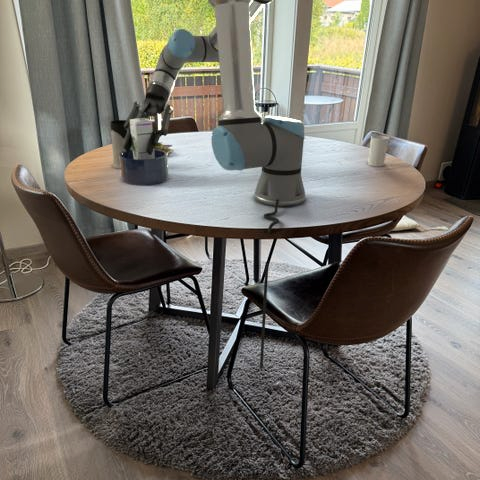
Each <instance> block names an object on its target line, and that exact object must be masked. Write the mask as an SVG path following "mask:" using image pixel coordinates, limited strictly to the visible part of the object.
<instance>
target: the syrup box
mask: <svg viewBox="0 0 480 480" xmlns="http://www.w3.org/2000/svg"><path fill="white" fill-rule="evenodd" d="M130 129H131V139H132V149H133V159H155V155H154V149H153V152H152V155H149V154H148V152H147V151H146V148H147V145H148V142H149V140H150V137H151V134H152V132H154V130H153V121H152V120H151V119H148V118H147V119H146V118H137V119H130Z"/></svg>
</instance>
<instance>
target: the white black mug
mask: <svg viewBox="0 0 480 480" xmlns="http://www.w3.org/2000/svg"><path fill="white" fill-rule="evenodd" d="M126 120H127V119H117V120H116V119H115V120H111V121H110V123H109V124H110V139H111V145H112V156H113V165H112V166H113V168H115V169H119V170H121V167H120V158H119V154H120V153H121V152H124V151H126V150H125V149H124V144H125V141H126V139H125V136H126V134H127V130H126V129H125V128H124V124H125V122H126ZM130 150H133V149H132V146H131V149H130Z"/></svg>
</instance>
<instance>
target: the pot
mask: <svg viewBox="0 0 480 480" xmlns="http://www.w3.org/2000/svg"><path fill="white" fill-rule="evenodd" d="M154 155H155V159H133V150H130V151H129V152H127V151H124V152H121V153H120V154H119V158H120V167H121V169H120V175H121V177H120V178H121V181H122V182H123V183H125V184H129V185H134V186H152V185H159V184H163V183H165V182H167V181H168V180H169V160H168V158H169V157H168V155H167V153H166V152H164V151H162V150H157V149H154Z"/></svg>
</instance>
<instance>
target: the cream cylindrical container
mask: <svg viewBox="0 0 480 480" xmlns="http://www.w3.org/2000/svg"><path fill="white" fill-rule="evenodd" d="M389 141H390V136H387V135H381V134H374V135H370V144H369V153H368V161H367V162H368V163H367V164H368V166H371V167H383V166H384V165H385V160H386V156H387V152H388V148H389V147H388V146H389Z"/></svg>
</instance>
